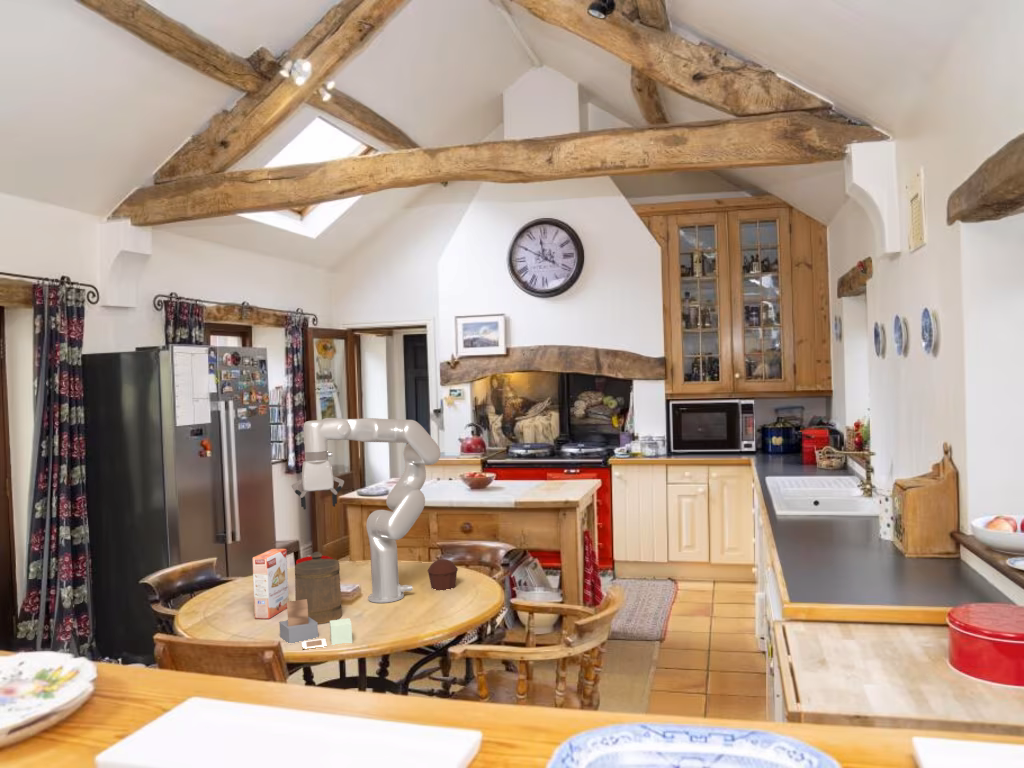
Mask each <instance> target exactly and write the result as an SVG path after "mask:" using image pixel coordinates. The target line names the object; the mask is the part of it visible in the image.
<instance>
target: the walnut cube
mask: <svg viewBox="0 0 1024 768" xmlns="http://www.w3.org/2000/svg"><path fill="white" fill-rule="evenodd" d="M286 610H287V620H288V626H295V625H303V624H309V623H308V604H307V599H304V600H291V601H289V600H288V602H287V608H286Z"/></svg>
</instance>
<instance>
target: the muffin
mask: <svg viewBox="0 0 1024 768" xmlns="http://www.w3.org/2000/svg"><path fill="white" fill-rule="evenodd" d="M458 570H459V568H458V567H457V566H456V564H455V563H454V562H452V561H451V560H449V559H443V558H442V559H438V560H435V561H434V562H433V563H432V564H431V565H430V566H429V567H428V569H427V573H428V577H429V583H430V587H431V589H432V588H433V589H432V590H434V589H436V590H435V591H440V590H443V591H447V590H446V589H450V590H452V589H451V588H453V589H455V587H456V583H457V572H458Z"/></svg>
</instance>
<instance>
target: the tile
mask: <svg viewBox="0 0 1024 768" xmlns="http://www.w3.org/2000/svg"><path fill="white" fill-rule="evenodd" d="M326 640H327V639H326V638H324V637H323V638H316V639H311V640H307V641H303V642H301V647H303V648H305V649H307V648H315V647H323V648H325V647H324V646H327V647H328V645H327V641H326Z"/></svg>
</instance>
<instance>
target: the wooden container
mask: <svg viewBox="0 0 1024 768" xmlns="http://www.w3.org/2000/svg"><path fill="white" fill-rule="evenodd" d="M311 556H312V558H313V559H312V560H308V561H304V562H301V563H298V564H296V563H295V565H294V579H295V580H294V581H295V583H294V587H295V588H294V589H295V591H294V592H295V594H294V595H295V598H294V601H296V600H304V599H307V604H308V617H310V618H311V619H313V620H314V621H316V622H317V623H318V625H324V624H327V622H328V623H330V621H331V620H336V619H337V620H339V619H341V618H342V616H343V612H342V611H343V609H342V608H343V607H342V606H343V605H342V590H341V575H340V574H341V573H340V571H341V569H340V567H341V566H340V561H339V560H337V559H334V558H333V559H322V558H321V557H322V556H323V554H322V552H320V551H314V552H312V553H311ZM338 618H339V619H338Z"/></svg>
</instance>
